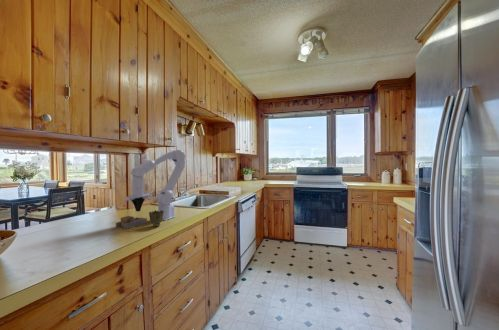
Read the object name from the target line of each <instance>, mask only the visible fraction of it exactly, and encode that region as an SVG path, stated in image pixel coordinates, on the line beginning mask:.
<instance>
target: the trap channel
mask: <svg viewBox="0 0 499 330" xmlns="http://www.w3.org/2000/svg"><path fill="white" fill-rule="evenodd" d="M146 223H148V217H141V216H137V217H134V222H130V223H126V224H125V227H124V229H125V230H127V229H130V228H132V227H134V228H135V227H136V226H140V225H143V224H146ZM115 228H121V221H118V222H115Z"/></svg>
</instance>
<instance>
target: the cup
mask: <svg viewBox="0 0 499 330" xmlns="http://www.w3.org/2000/svg"><path fill="white" fill-rule="evenodd" d="M163 213H164V211H163V210H162V211H160V212H158V209H157V210H152V211H148V216H149V221H150V223H151V224H152V226H153V227H155V228H157V227H160V226H161V223H162V222H163V221H164V220H163Z"/></svg>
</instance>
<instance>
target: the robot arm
mask: <svg viewBox="0 0 499 330" xmlns="http://www.w3.org/2000/svg"><path fill="white" fill-rule="evenodd" d="M185 158H186V155H185V152H184V151H183V150H182V149H173V150H171V151H168V152H167V153H164V154H162V155H160V156H159V157H157V158H156V159H154V160H152V159H149V160H148V159H147V160H145V161H144V162H143V163H142V164H137V166H135V167H133V168H132V169H131V172H130V174H131V175H132V180H131V181H132V182H131V183H132V187H131V188H132V189H131V191H132V192H131V193H132V194H131V195H130V196H125V201H129V202H130V201H131V202H132V204H133V206H134V210H135V212H141V210H142V206H143V204H144V201H145V200H146V199H145V198H150V193H144V175H145V174H147V173H149V172H151V171H153V170H154V169H156V167H157V165H159V164H161V163H163V162H165V161H167V160H172V161H173V163H174V165H175V166H174V168H173V170H172V172H171V174H170V177H169V179H168V180H167V182H166V185H165V186H164V188H162V190H161V191H160V193H158V194H157V196H156V200H157V202H158V203H157V210H158V212H160V211H162V210H163V211H164V213H163V220H162V221H167V220H170V219H174V218H176V216H175V205H174V204H173V203H171V202H172V200H173V198H172V197H173V195H174V194H173V193H174V190H175V189H174V188H175V187H176V186H177V183H178V181H179V180H180V179H179V178H180V177H181V175H182V172H183V170H184V168H185V166H186V161H185V160H186V159H185Z"/></svg>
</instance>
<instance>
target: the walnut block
mask: <svg viewBox="0 0 499 330" xmlns="http://www.w3.org/2000/svg"><path fill="white" fill-rule="evenodd" d="M134 218H135V216H132V215H127V216H122V217H120V222H121V226H120V228H125V224H126V223H130V222H134Z"/></svg>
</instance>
